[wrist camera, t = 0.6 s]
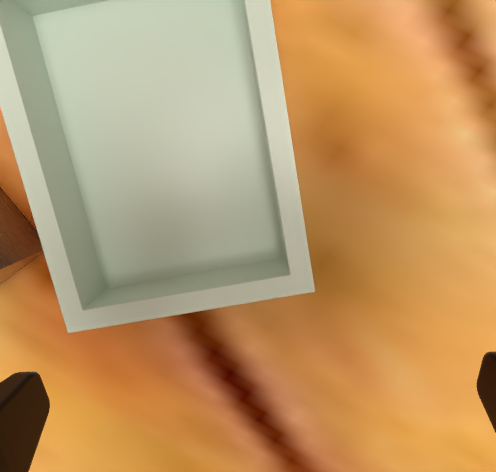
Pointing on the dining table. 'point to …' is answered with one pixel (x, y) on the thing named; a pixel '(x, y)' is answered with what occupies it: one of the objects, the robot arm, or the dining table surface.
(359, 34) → the dining table surface
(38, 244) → the block
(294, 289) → the tray
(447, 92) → the dining table surface
